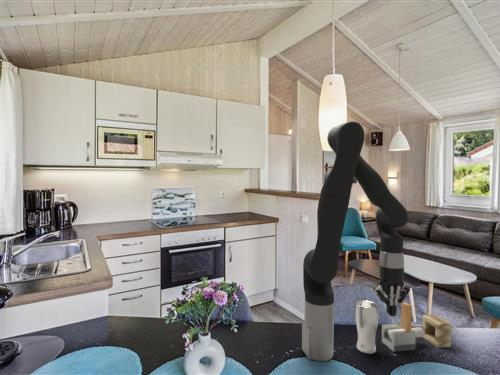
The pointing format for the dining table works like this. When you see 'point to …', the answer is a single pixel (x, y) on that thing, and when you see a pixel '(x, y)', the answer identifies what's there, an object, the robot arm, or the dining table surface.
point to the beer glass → (366, 325)
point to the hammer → (407, 322)
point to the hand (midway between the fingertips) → (391, 315)
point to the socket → (437, 331)
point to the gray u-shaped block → (398, 338)
